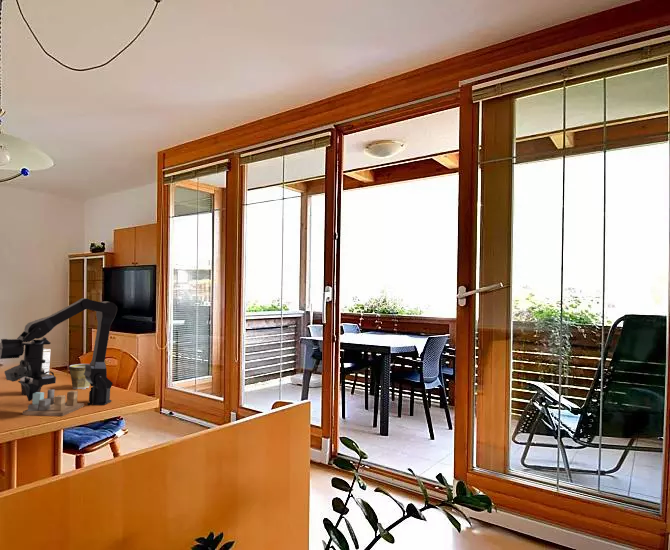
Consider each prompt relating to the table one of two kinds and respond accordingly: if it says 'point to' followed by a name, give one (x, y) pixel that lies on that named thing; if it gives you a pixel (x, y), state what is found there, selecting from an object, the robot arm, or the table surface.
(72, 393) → the block puzzle board
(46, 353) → the syrup box
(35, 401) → the teal l-shaped block
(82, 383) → the ceramic cup
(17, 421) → the table surface
